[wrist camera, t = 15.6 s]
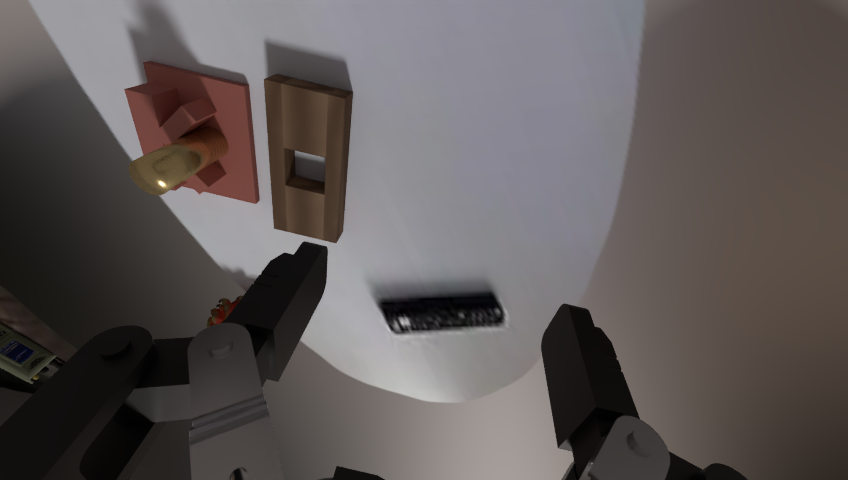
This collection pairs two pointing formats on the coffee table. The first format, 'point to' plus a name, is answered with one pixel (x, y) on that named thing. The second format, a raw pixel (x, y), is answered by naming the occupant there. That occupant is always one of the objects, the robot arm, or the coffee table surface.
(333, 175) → the brown flat block
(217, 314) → the dragon fruit
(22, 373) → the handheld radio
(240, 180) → the V-block
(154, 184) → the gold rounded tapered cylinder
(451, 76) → the coffee table surface
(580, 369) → the robot arm
